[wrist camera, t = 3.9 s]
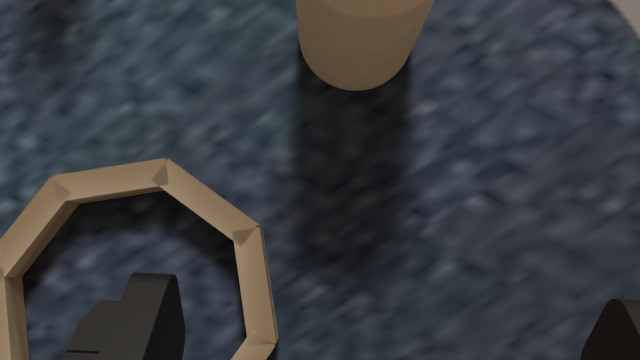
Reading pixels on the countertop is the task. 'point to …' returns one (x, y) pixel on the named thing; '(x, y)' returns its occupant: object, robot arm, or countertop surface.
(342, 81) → the candle
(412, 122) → the countertop surface
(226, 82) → the countertop surface
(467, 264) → the countertop surface
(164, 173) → the maple ring
